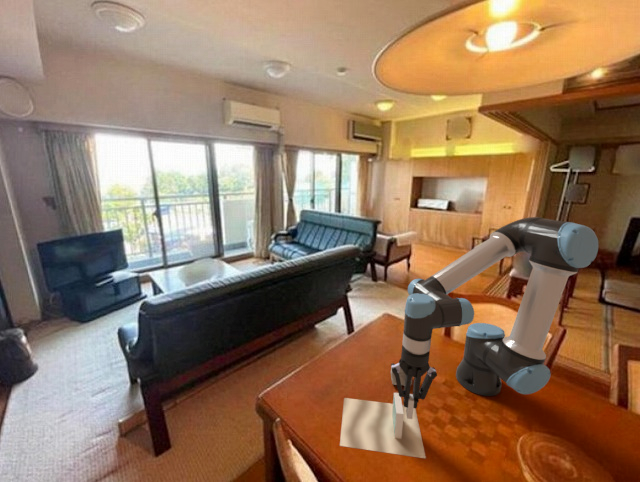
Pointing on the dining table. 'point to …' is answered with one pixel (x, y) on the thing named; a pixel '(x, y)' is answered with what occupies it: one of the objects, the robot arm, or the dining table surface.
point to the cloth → (379, 429)
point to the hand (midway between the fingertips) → (409, 415)
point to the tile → (397, 416)
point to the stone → (402, 377)
